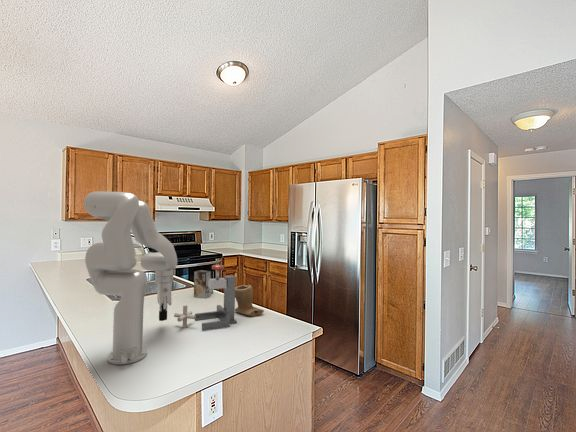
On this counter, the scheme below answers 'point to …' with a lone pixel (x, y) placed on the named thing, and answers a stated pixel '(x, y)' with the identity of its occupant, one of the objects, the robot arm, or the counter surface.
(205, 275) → the coffee box
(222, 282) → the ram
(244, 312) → the brown boot vase
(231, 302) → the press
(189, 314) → the pipe connector
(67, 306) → the counter surface
